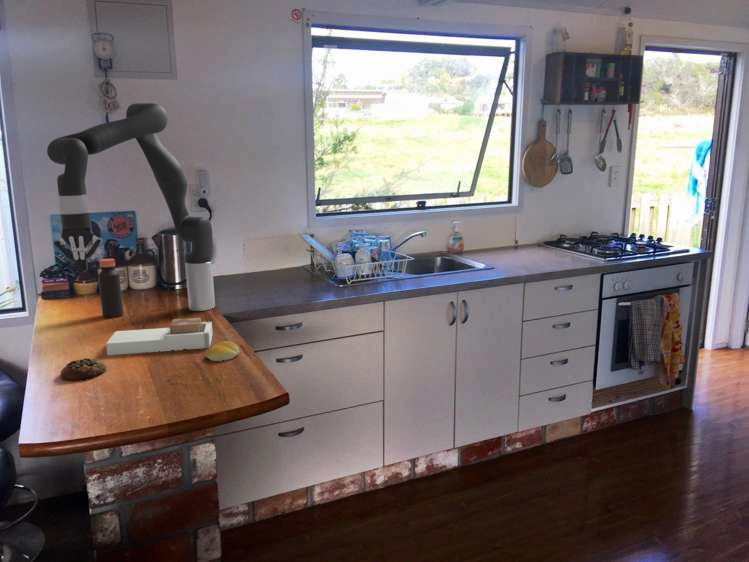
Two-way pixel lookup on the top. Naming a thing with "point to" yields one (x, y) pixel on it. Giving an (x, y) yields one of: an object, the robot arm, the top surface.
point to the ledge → (137, 341)
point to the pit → (190, 339)
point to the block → (186, 326)
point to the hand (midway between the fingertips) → (82, 272)
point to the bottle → (110, 289)
